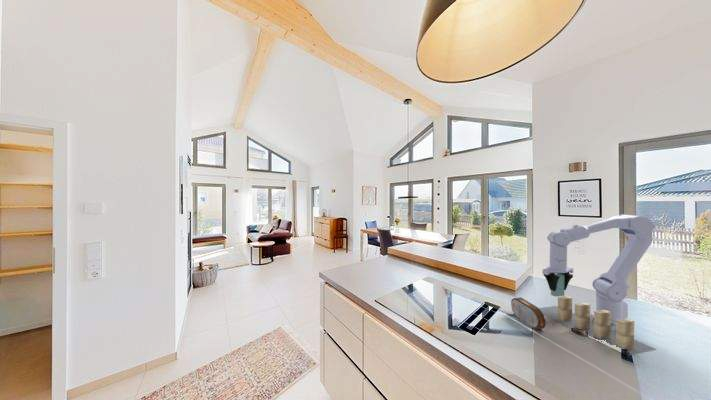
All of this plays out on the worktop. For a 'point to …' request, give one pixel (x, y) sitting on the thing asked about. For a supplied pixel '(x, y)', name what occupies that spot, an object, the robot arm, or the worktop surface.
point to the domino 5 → (625, 333)
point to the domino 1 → (559, 286)
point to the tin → (528, 313)
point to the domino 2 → (564, 308)
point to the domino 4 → (602, 324)
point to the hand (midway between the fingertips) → (557, 289)
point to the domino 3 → (582, 315)
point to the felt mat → (553, 314)
